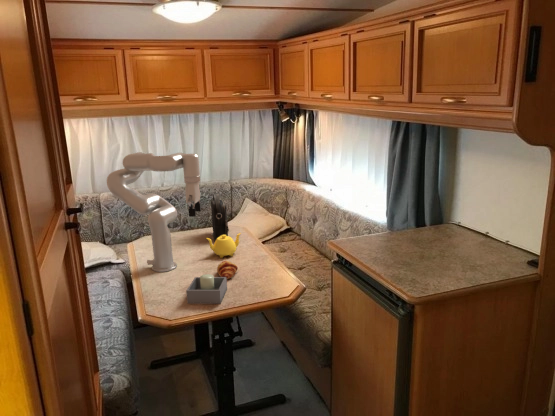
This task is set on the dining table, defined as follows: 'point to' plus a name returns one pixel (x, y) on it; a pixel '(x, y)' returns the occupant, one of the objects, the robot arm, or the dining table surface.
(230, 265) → the croissant
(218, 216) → the shoulder bag
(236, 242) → the teapot
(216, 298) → the bin
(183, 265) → the dining table surface
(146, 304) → the dining table surface
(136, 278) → the dining table surface
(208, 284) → the pale green rounded block
